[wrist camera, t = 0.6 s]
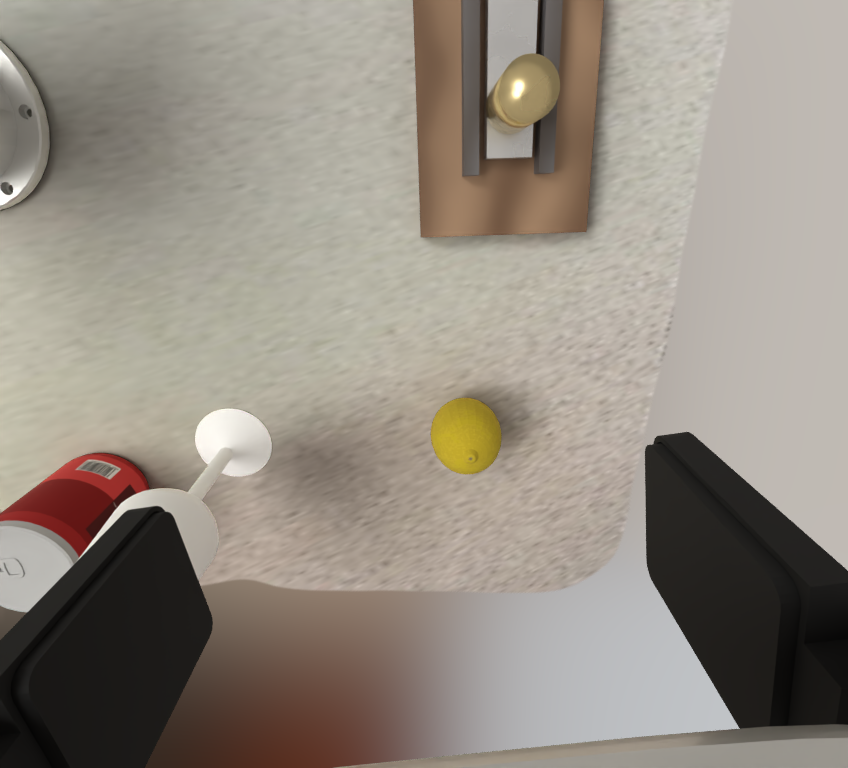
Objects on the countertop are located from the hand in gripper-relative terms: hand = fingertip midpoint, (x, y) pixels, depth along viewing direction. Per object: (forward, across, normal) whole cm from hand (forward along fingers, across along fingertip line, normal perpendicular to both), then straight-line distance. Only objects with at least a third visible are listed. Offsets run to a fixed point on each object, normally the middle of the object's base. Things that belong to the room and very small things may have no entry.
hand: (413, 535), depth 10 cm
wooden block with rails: (+32, -7, -12) cm, 35 cm away
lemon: (+32, -2, +12) cm, 34 cm away
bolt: (+30, -8, -13) cm, 33 cm away
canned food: (+32, +31, +14) cm, 46 cm away
